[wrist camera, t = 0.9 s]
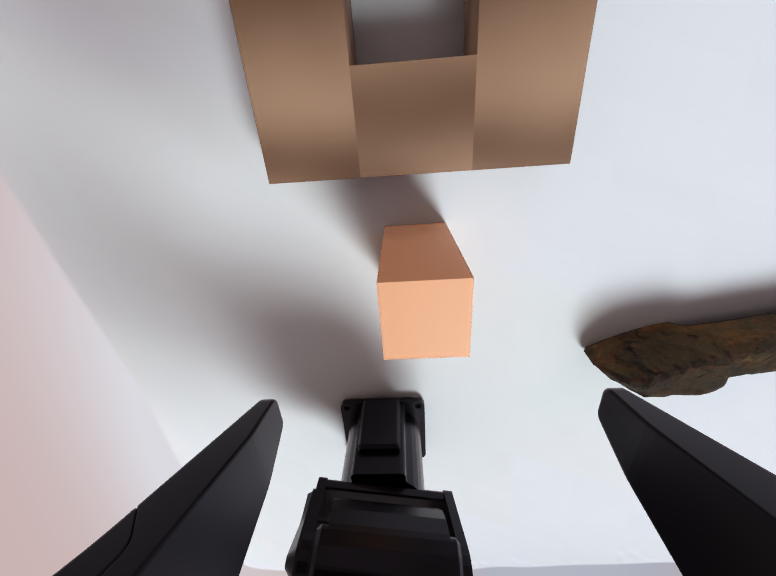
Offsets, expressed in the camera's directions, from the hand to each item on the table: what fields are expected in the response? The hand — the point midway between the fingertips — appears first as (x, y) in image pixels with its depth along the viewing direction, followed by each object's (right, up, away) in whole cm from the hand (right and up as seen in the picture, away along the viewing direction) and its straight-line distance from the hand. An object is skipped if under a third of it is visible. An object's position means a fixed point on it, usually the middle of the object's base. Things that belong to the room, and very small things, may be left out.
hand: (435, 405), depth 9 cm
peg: (0, +5, +11) cm, 12 cm away
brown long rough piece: (+22, 0, +13) cm, 26 cm away
